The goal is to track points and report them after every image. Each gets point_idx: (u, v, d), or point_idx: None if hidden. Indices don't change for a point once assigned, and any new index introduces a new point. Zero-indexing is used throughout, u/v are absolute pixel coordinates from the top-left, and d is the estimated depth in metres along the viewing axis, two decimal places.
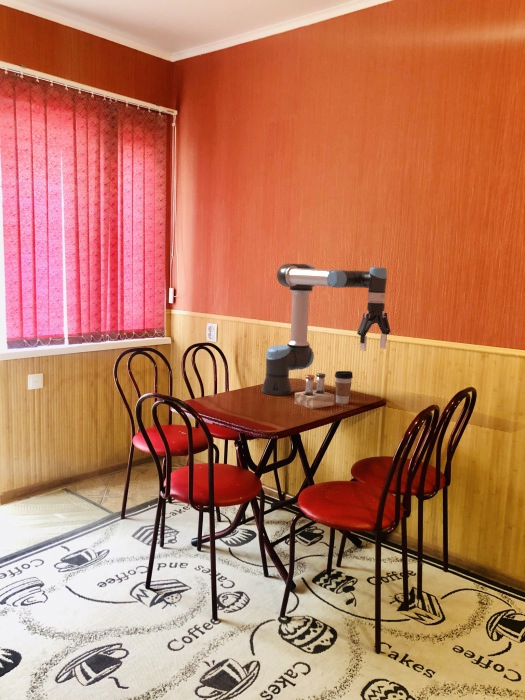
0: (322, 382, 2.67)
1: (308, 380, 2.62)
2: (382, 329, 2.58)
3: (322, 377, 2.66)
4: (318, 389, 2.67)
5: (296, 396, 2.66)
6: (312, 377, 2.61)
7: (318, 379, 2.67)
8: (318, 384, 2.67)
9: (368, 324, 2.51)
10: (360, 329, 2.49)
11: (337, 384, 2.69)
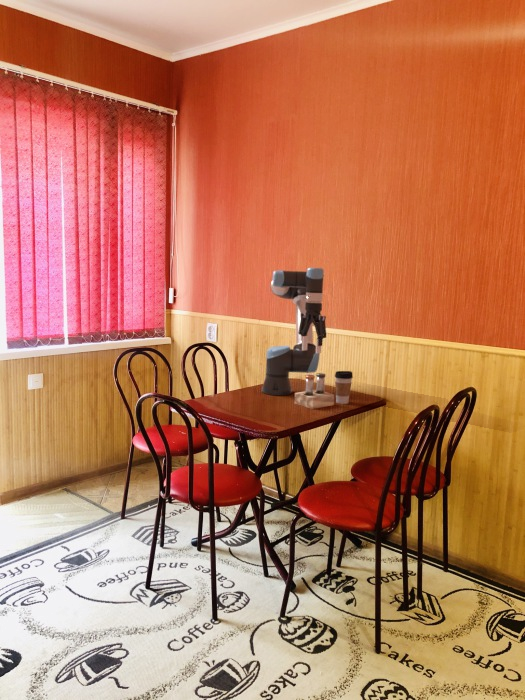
0: (322, 382, 2.67)
1: (308, 380, 2.62)
2: None
3: (322, 377, 2.66)
4: (318, 389, 2.67)
5: (296, 396, 2.66)
6: (312, 377, 2.61)
7: (318, 379, 2.67)
8: (318, 384, 2.67)
9: None
10: None
11: (337, 384, 2.69)
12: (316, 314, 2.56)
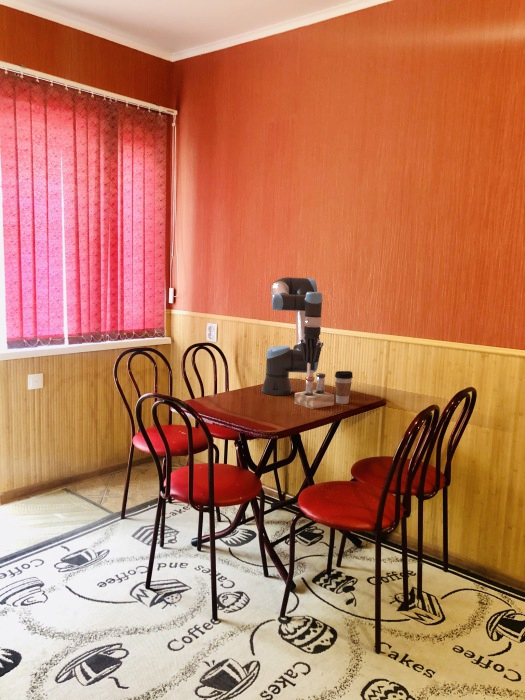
0: (322, 382, 2.67)
1: (308, 382, 2.62)
2: None
3: (322, 377, 2.66)
4: (318, 389, 2.67)
5: (296, 396, 2.66)
6: (312, 379, 2.61)
7: (318, 379, 2.67)
8: (318, 384, 2.67)
9: None
10: None
11: (337, 384, 2.69)
12: (315, 338, 2.57)
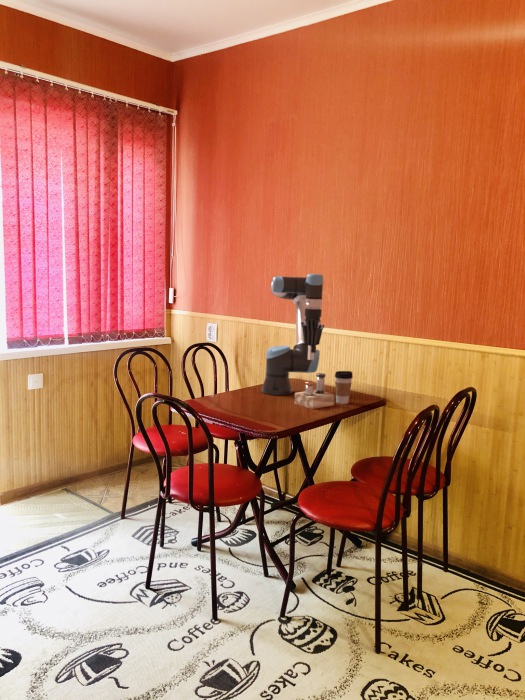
0: (322, 382, 2.67)
1: (308, 386, 2.62)
2: None
3: (322, 377, 2.66)
4: (318, 389, 2.67)
5: (296, 396, 2.66)
6: (312, 383, 2.62)
7: (318, 379, 2.67)
8: (318, 384, 2.67)
9: None
10: None
11: (337, 384, 2.69)
12: (316, 320, 2.56)
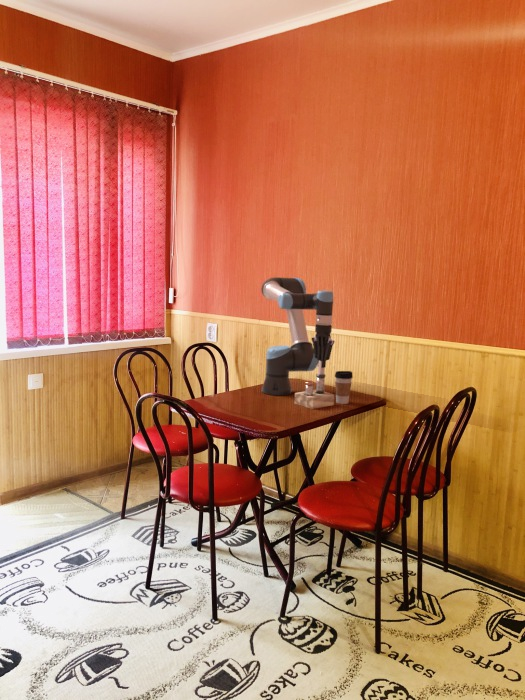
0: (322, 382, 2.67)
1: (308, 386, 2.62)
2: None
3: (322, 377, 2.66)
4: (318, 389, 2.67)
5: (296, 396, 2.66)
6: (312, 383, 2.62)
7: (318, 379, 2.67)
8: (318, 385, 2.67)
9: None
10: None
11: (337, 384, 2.69)
12: (326, 336, 2.61)
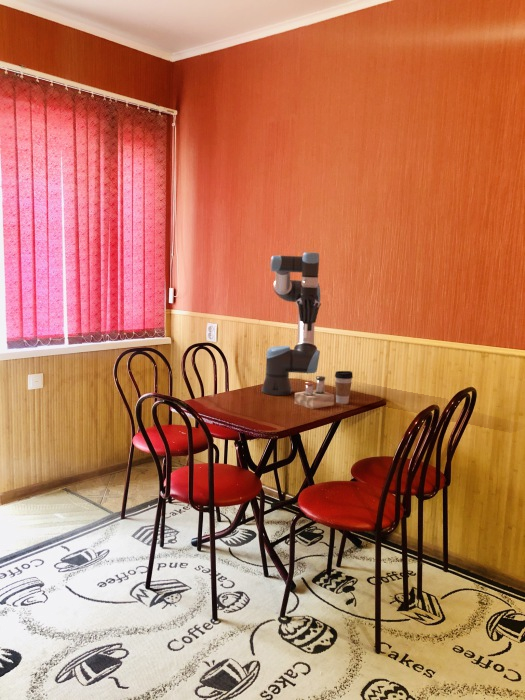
0: (322, 385, 2.67)
1: (308, 386, 2.62)
2: None
3: (322, 380, 2.66)
4: (318, 392, 2.67)
5: (296, 396, 2.66)
6: (312, 383, 2.62)
7: (318, 382, 2.67)
8: (318, 387, 2.67)
9: None
10: None
11: (337, 384, 2.69)
12: (312, 299, 2.58)
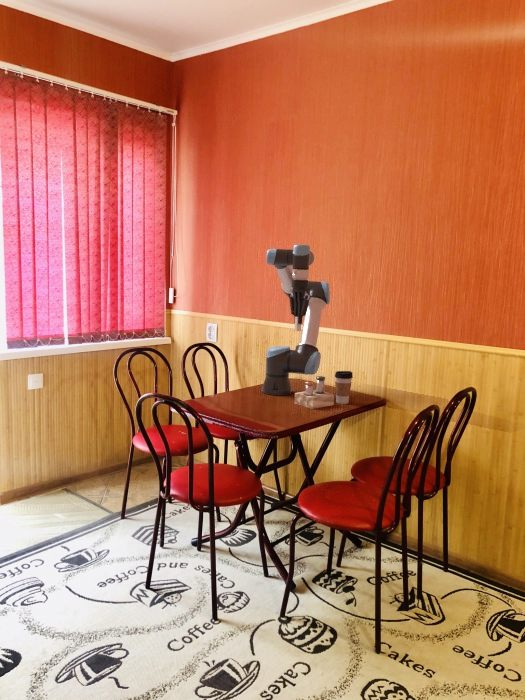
0: (322, 385, 2.67)
1: (308, 386, 2.62)
2: None
3: (322, 380, 2.66)
4: (318, 392, 2.67)
5: (296, 396, 2.66)
6: (312, 383, 2.62)
7: (318, 382, 2.67)
8: (318, 387, 2.67)
9: None
10: None
11: (337, 384, 2.69)
12: (303, 291, 2.56)
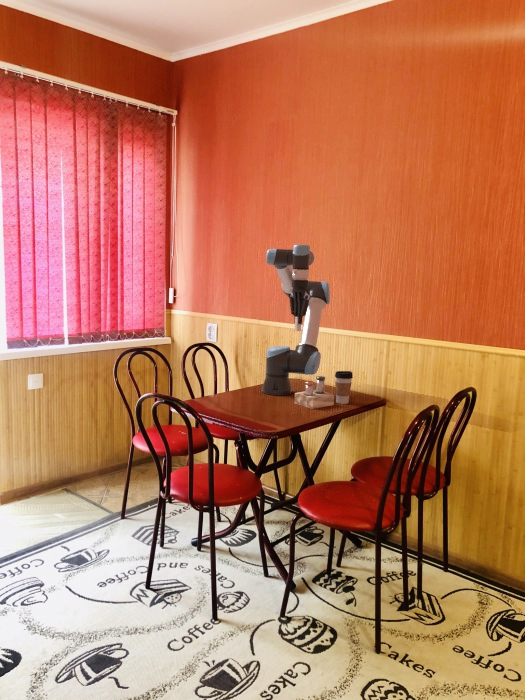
0: (322, 385, 2.67)
1: (308, 386, 2.62)
2: None
3: (322, 380, 2.66)
4: (318, 392, 2.67)
5: (296, 396, 2.66)
6: (312, 383, 2.62)
7: (318, 382, 2.67)
8: (318, 387, 2.67)
9: None
10: None
11: (337, 384, 2.69)
12: (303, 291, 2.56)
